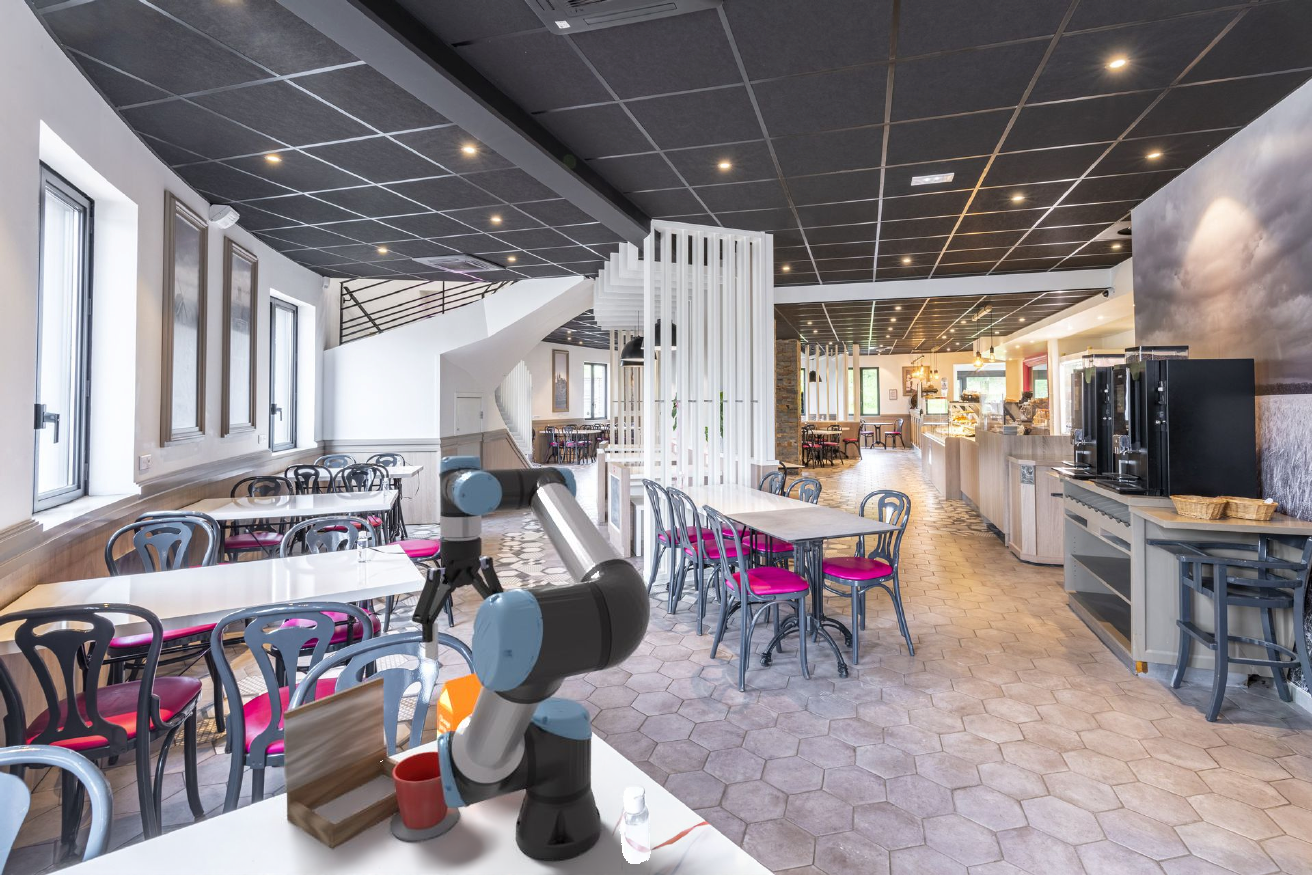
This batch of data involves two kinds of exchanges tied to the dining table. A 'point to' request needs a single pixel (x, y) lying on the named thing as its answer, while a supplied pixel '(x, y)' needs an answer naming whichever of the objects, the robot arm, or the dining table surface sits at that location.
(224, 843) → the dining table surface
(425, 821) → the flower pot
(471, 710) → the orange juice
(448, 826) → the slate saucer
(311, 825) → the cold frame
